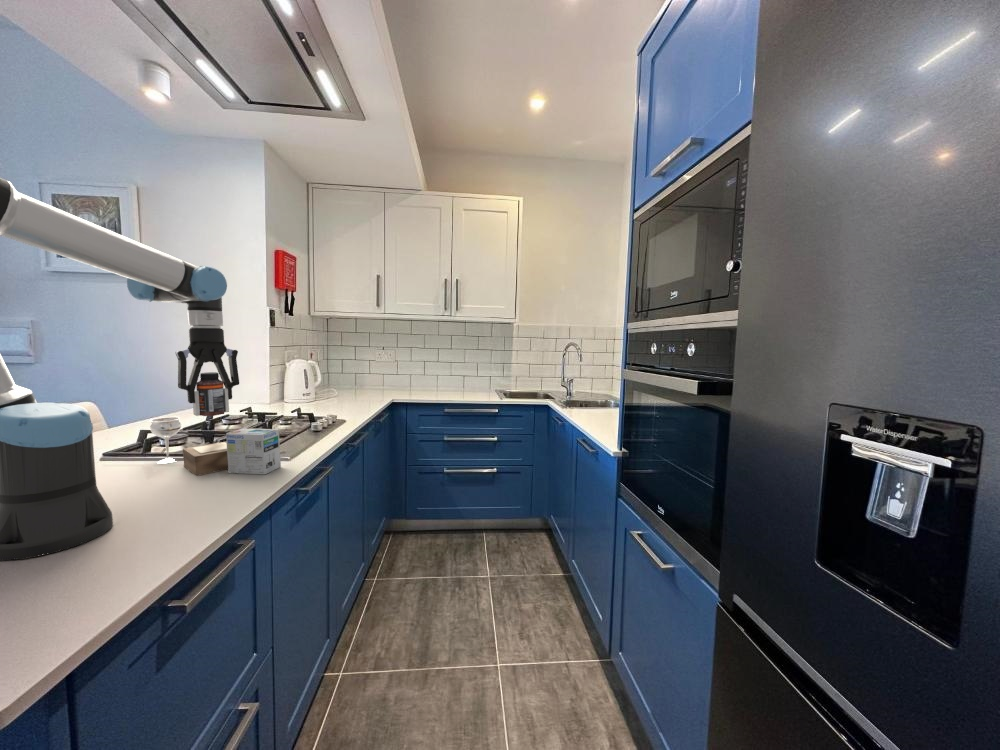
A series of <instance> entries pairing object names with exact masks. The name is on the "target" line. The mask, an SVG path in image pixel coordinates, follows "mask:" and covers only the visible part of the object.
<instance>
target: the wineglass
mask: <svg viewBox="0 0 1000 750" xmlns="http://www.w3.org/2000/svg"><path fill="white" fill-rule="evenodd" d="M180 419H181V418H180V417H179V416H169V417H167V416H166V417H165V416H164V417H159V418H152V419H150V420H149V422H150V423H151V424H150V427H149V429H150V432H151V433H152V435H155V437H158V438H161V439H163V440H164V442H165V443H164V444H165V452H166V458H164V459H161V460H159V461H157V462H156V463H157V464H169V463H175V462H176V461H175V459H173V458H174V457H170V451H169V449H170V448H169V447H170V446H169V444H170V443H169V440H170V438H171V437H173V436H175V435H177V434H178V432H180V431H181V428H182V424H181V422H180Z"/></svg>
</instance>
